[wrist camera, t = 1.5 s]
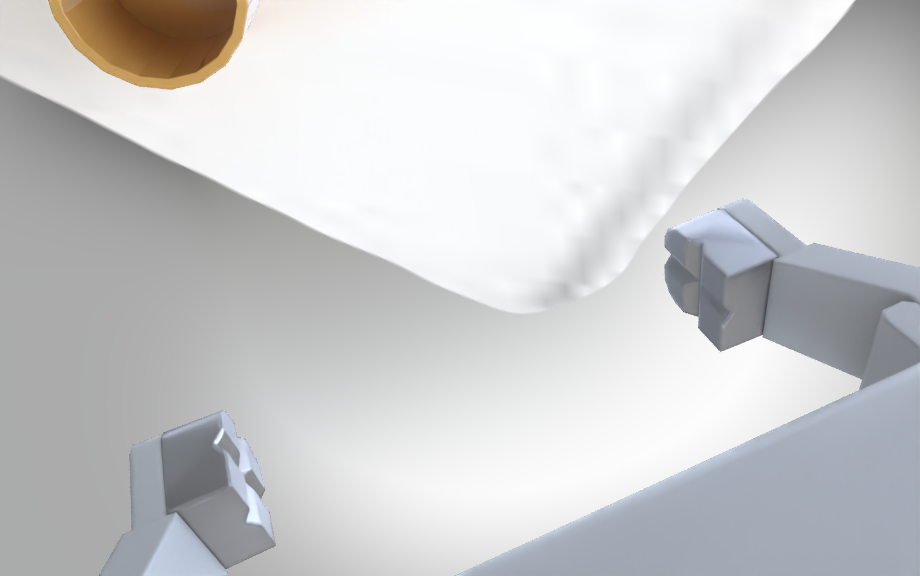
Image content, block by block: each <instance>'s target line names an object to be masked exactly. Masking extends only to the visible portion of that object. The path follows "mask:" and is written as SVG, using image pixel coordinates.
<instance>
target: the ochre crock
mask: <svg viewBox="0 0 920 576" xmlns="http://www.w3.org/2000/svg"><path fill="white" fill-rule="evenodd" d="M48 1H49V4H50V7H51V10H52V13H53V16H54V18H55V20H56V21H57V22H58V24H59V25H60V27H61V28H62V30H63V31H64V33H65V34H66V35H67V37H68V38H69V40H70V41H71V43H72V44H73V46H74V47H76V49H77V50H78V51H80V52H81V53H82V54H83V55H84V56H86V57H87V58H88V59H89V60H91V61H92V62H93V63H94V64H95V65H97V66H98V67H99V68H100V69H102V70H103V71H105V72H106V73H108V74H111V75H113V76H115V77H118V78H120V79H122V80H125V81H127V82H129V83H132V84H134V85H138V86H141V87H151V88H160V89H176V88H180V87H184V86H189V85H193V84H197V83H201V82H203V81H204V80H206V79H207V78H208V77H210V76H211V75H213V74H214V73H216V72H217V71H218V70H220V69H221V68H223V67H224V66H226V64H227V63H228V62H229V60H230V59H231V57H232V55H233V54H234V52H235V51H236V49H237V47H238V46H239V44H240V43H241V41H242V39H243V37H244V35H245V33H246V31H247V29H248V27H249V25H250V23H251V21H252V19H253V16H254V14H255V12H256V10H257V8H258V6H259V2H260V0H48Z"/></svg>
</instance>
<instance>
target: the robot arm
mask: <svg viewBox="0 0 920 576" xmlns="http://www.w3.org/2000/svg"><path fill="white" fill-rule="evenodd" d="M665 248H666V249H667V250H668V251H669V252H670V253H671V256H670V257H669V259H668V261H667V262H666V264H665V281H666V284H667V286H668V289H669V293H670V294H671V296H672V298H673V299H674V301H675V303H676V304H677V305H678V306H679V307H680V308H681V310H682V311H683V312H685V313H688V314H691V315H694V316H698V317H699V321H698V328H699V329H700V330H701V331H702V333H703V334H705V336H706V337H707V338H708V339H709V340H710V341H711V342H712V343H713V344H714V345H715V346H716V347H717V349H718V350H719V351H720V352H721V351H724V350H726V349H729V348H731V347H734V346H736V345H739V344H741V343H743V342H746V341H748V340H751V339H753V338H756V337H758V336H761V335H763V338H766V339H768V340H770V341H773V342H775V343H778V344H780V345H782V346H785V347H787V348H789V349H792V350H794V351H797V352H799V353H801V354H804V355H806V356H808V357H811V358H813V359H815V360H818V361H820V362H822V363H825V364H827V365H830V366H832V367H834V368H836V369H839V370H841V371H843V372H846V373H848V374H850V375H853V376H855V377H858V378H860V379H862V382H861V386H860V389H859V391H856V392H854V393H852V394H850V395H848V396H846V397H843V398H841V399H839V400H837V401H835V402H833V403H830V404H828V405H826V406H824V407H821V408H819V409H817V410H815V411H813V412H811V413H808V414H806V415H804V416H802V417H800V418H798V419H795V420H793V421H791V422H789V423H787V424H784V425H782V426H780V427H778V428H776V429H774V430H771V431H769V432H767V433H765V434H763V435H760V436H758V437H756V438H754V439H752V440H750V441H748V442H745V443H743V444H741V445H739V446H737V447H735V448H732V449H730V450H728V451H726V452H724V453H722V454H719V455H717V456H715V457H713V458H710V459H708V460H706V461H704V462H702V463H700V464H698V465H695V466H693V467H691V468H689V469H687V470H684V471H682V472H680V473H678V474H676V475H674V476H671V477H669V478H667V479H665V480H663V481H661V482H658V483H656V484H654V485H652V486H650V487H648V488H645V489H643V490H641V491H639V492H637V493H635V494H633V495H630V496H628V497H626V498H624V499H621V500H619V501H617V502H615V503H613V504H610V505H608V506H606V507H604V508H602V509H600V510H597V511H595V512H593V513H591V514H589V515H587V516H584V517H582V518H580V519H578V520H576V521H573V522H571V523H569V524H567V525H565V526H563V527H560V528H558V529H556V530H554V531H552V532H549V533H547V534H545V535H543V536H541V537H539V538H536V539H534V540H532V541H530V542H528V543H525V544H523V545H521V546H519V547H517V548H514V549H512V550H510V551H508V552H506V553H504V554H502V555H499V556H497V557H495V558H493V559H490V560H488V561H486V562H484V563H482V564H480V565H477V566H475V567H473V568H471V569H469V570H467V571H464V572H462V573H460V574H458V575H456V576H920V268H919V267H915V266H910V265H906V264H902V263H898V262H893V261H889V260H885V259H880V258H876V257H872V256H867V255H863V254H859V253H854V252H850V251H845V250H842V249H837V248H833V247H829V246H825V245H820V244H816V243H813V244H810V245H808V246H806V245H805V244H804V243H803V242H801V241H800V240H799V239H798V238H796V237H795V236H794V235H793V234H791V233H790V232H789V231H787V230H786V229H785V228H783V227H782V226H781V225H780V224H779V223H777V222H776V221H775V220H774V219H772V218H771V217H770V216H769V215H767V214H766V213H765V212H763V211H762V210H761V209H760V208H759V207H757V206H756V205H755V204H753V203H752V202H751V201H749V200H747V199H740V200H737V201H735V202H732V203H730V204H728V205H725V206H723V207H720V208H718V209H717V210H713V211H711V212H708V213H706V214H704V215H701V216H699V217H696V218H694V219H692V220H689V221H687V222H684V223H682V224H680V225H677V226H675V227H672V228H670V229H668V231H667V233H666V235H665ZM129 456H130V489H131V490H130V491H131V523H132V524H131V528H132V530H131V531H129V532H127V533H125V534H123V535H122V536H121V538H120V540H119V541H118V543H117V545H116V547H115V549H114V550H113V552H112V554H111V555H110V557H109V559H108V561H107V562H106V564H105V566H104V568H103V569H102V571H101V573H100V574H99V576H226V575H227V570H226V569H227V568H229V567H232V566H234V565H236V564H238V563H240V562H242V561H244V560H247V559H249V558H251V557H253V556H255V555H257V554H259V553H262V552H264V551H266V550H268V549H270V548H272V547H274V546H276V544H275V539H274V533H273V528H272V523H271V518H270V512H269V511H268V509H267V508H266V506H265V505H264V503H263V502H262V501H261V498H262V495H263V493H264V491H265V487H264V483H263V478H262V474H261V471H260V468H259V465H258V462H257V459H256V457H255V455H254V453H253V451H252V449H251V447H250V446H249V444H248V443H247V441H246V439H244V438H241V437H237V433H236V428H235V423H234V422H233V420H232V419H231V417H230V416H229V414H228V413H227V412H226V411H219V412H217V413H214V414H212V415H209V416H206V417H204V418H201V419H198V420H196V421H193V422H191V423H188V424H185V425H183V426H180V427H177V428H175V429H172V430H169V431H167V432H164V433H163V434H161V435H158V436H155V437H153V438H150V439H147V440H145V441H142V442H139V443H137V444H134V445H133V446H132V449H131V451H130V454H129Z"/></svg>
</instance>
